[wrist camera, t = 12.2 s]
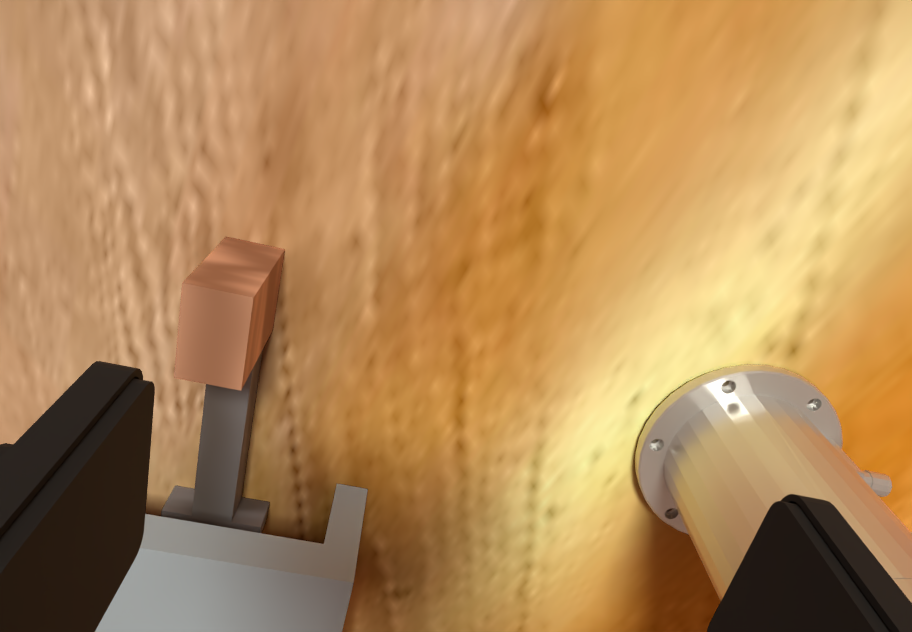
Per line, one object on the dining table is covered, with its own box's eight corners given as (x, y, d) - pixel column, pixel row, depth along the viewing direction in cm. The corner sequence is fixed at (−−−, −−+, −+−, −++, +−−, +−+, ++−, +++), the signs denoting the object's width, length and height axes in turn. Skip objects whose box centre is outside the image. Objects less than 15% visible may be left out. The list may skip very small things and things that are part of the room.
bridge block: (367, 489, 45) (353, 582, 37) (346, 581, 48) (329, 684, 41) (78, 437, 43) (4, 525, 35) (76, 537, 46) (6, 637, 38)
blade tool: (310, 254, 38) (284, 303, 32) (267, 516, 45) (238, 599, 39) (199, 230, 38) (150, 276, 31) (174, 500, 45) (129, 582, 38)
